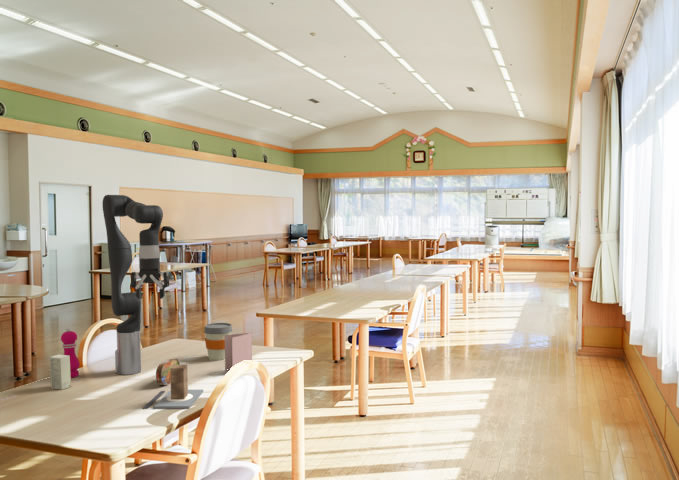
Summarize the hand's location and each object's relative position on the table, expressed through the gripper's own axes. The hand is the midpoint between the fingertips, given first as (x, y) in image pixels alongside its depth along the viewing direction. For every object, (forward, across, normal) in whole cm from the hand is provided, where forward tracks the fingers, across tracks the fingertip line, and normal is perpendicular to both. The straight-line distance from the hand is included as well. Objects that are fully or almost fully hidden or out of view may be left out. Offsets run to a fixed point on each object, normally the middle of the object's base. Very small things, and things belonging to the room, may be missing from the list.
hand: (150, 298), depth 216 cm
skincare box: (+33, +33, +6) cm, 47 cm away
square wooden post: (+32, -17, +20) cm, 42 cm away
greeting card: (+33, -31, -17) cm, 49 cm away
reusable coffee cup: (+33, -17, -38) cm, 53 cm away
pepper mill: (+33, +37, -9) cm, 51 cm away
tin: (+33, -6, -1) cm, 34 cm away
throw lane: (+33, -15, +20) cm, 42 cm away
